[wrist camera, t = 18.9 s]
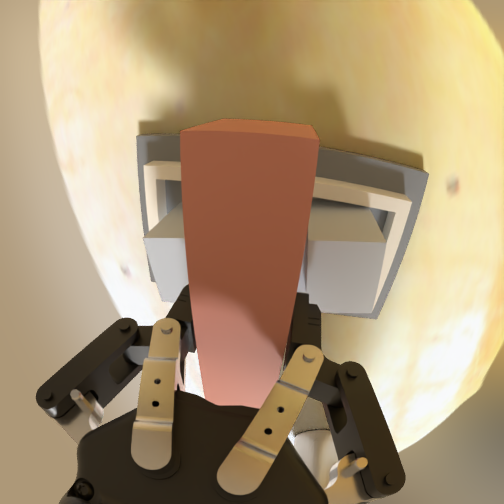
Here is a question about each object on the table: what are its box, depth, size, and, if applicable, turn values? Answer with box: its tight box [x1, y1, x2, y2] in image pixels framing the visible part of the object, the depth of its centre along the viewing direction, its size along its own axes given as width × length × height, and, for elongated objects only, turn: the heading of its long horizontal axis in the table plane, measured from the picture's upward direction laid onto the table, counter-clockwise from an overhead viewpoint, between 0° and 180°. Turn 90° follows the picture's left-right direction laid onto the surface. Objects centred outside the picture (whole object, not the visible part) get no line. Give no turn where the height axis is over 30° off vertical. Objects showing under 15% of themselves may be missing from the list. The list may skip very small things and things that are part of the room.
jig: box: [136, 134, 429, 319], centre depth 21 cm, size 14×22×2 cm, turn 86°
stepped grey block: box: [143, 201, 386, 313], centre depth 19 cm, size 5×14×6 cm, turn 95°
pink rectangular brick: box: [180, 119, 320, 409], centre depth 14 cm, size 18×4×5 cm, turn 177°
